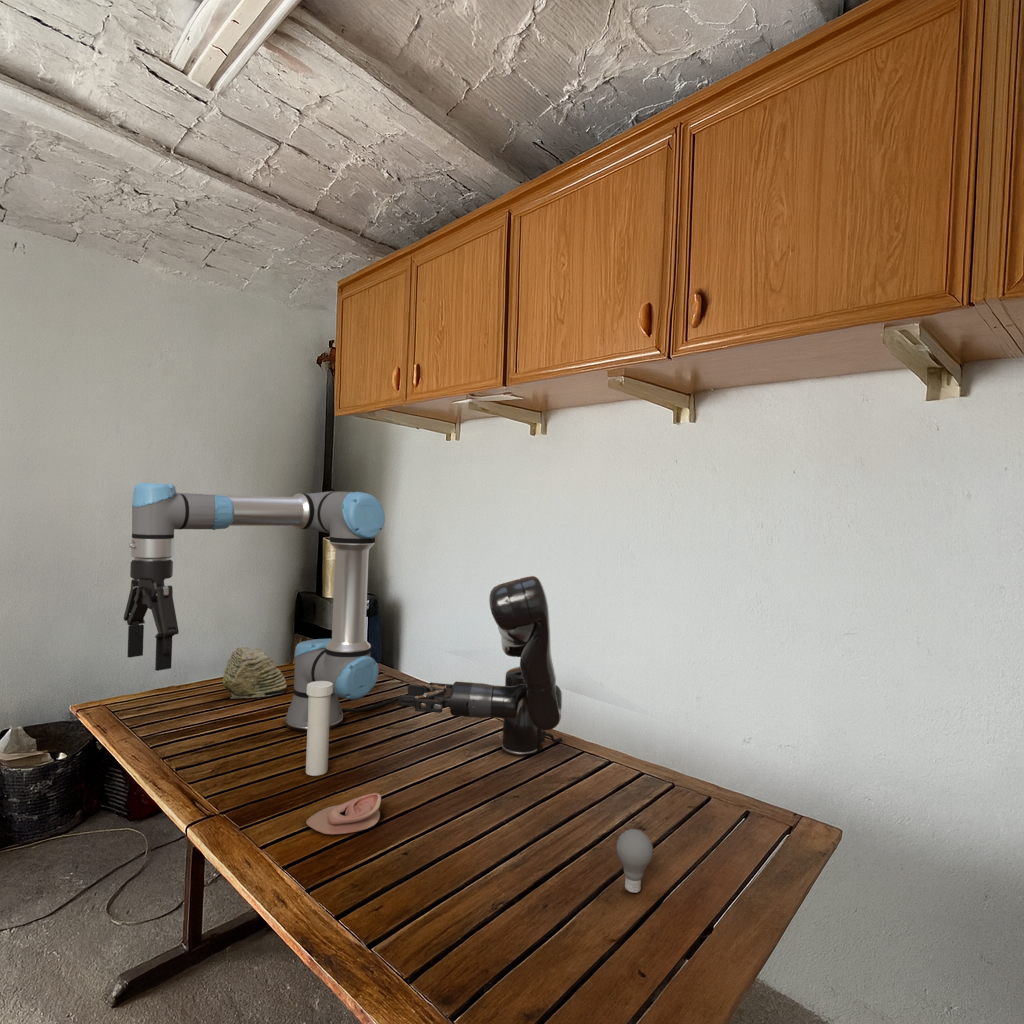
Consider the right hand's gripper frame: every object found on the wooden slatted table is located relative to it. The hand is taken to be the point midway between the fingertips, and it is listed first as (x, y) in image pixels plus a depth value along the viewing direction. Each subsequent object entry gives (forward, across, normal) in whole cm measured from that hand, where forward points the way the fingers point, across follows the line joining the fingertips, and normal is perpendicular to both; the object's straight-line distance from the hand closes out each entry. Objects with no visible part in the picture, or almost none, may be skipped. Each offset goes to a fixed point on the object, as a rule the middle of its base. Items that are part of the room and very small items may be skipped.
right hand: (403, 694), depth 145 cm
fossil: (+60, -48, +18) cm, 79 cm away
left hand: (+48, +20, -9) cm, 53 cm away
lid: (+19, +1, -1) cm, 19 cm away
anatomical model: (+5, +21, +19) cm, 29 cm away
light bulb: (-49, +35, +19) cm, 63 cm away
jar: (+19, +1, +19) cm, 27 cm away
